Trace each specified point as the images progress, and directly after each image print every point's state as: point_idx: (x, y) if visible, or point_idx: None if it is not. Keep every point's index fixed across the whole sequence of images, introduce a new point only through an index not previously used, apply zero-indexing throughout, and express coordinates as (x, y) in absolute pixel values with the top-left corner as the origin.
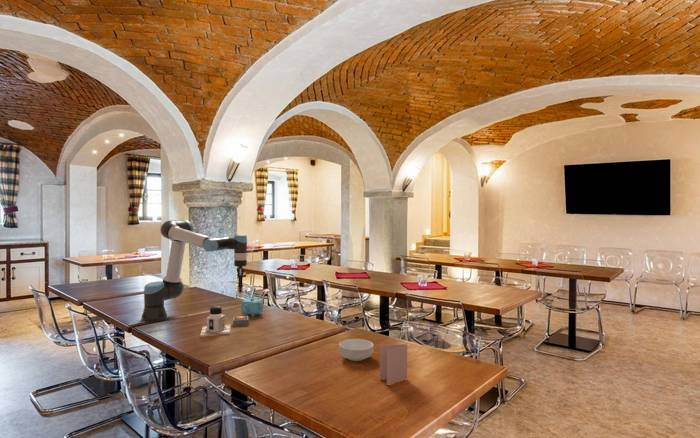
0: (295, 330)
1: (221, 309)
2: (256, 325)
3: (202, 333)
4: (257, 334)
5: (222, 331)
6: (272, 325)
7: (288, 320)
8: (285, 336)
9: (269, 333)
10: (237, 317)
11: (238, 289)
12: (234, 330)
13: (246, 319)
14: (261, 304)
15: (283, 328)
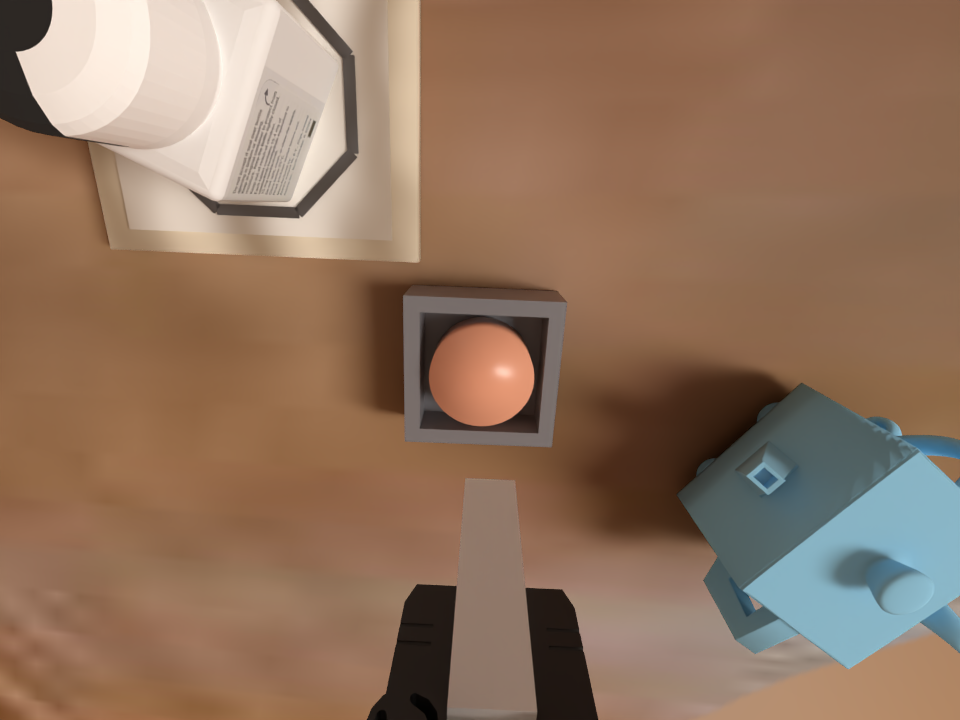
0: (210, 684)
1: (54, 135)
2: (389, 475)
3: None
4: (127, 464)
5: (153, 175)
6: (362, 578)
7: None
8: (73, 620)
9: (149, 541)
10: (482, 345)
11: (451, 641)
12: (263, 292)
13: (409, 425)
14: (731, 623)
15: (268, 631)
